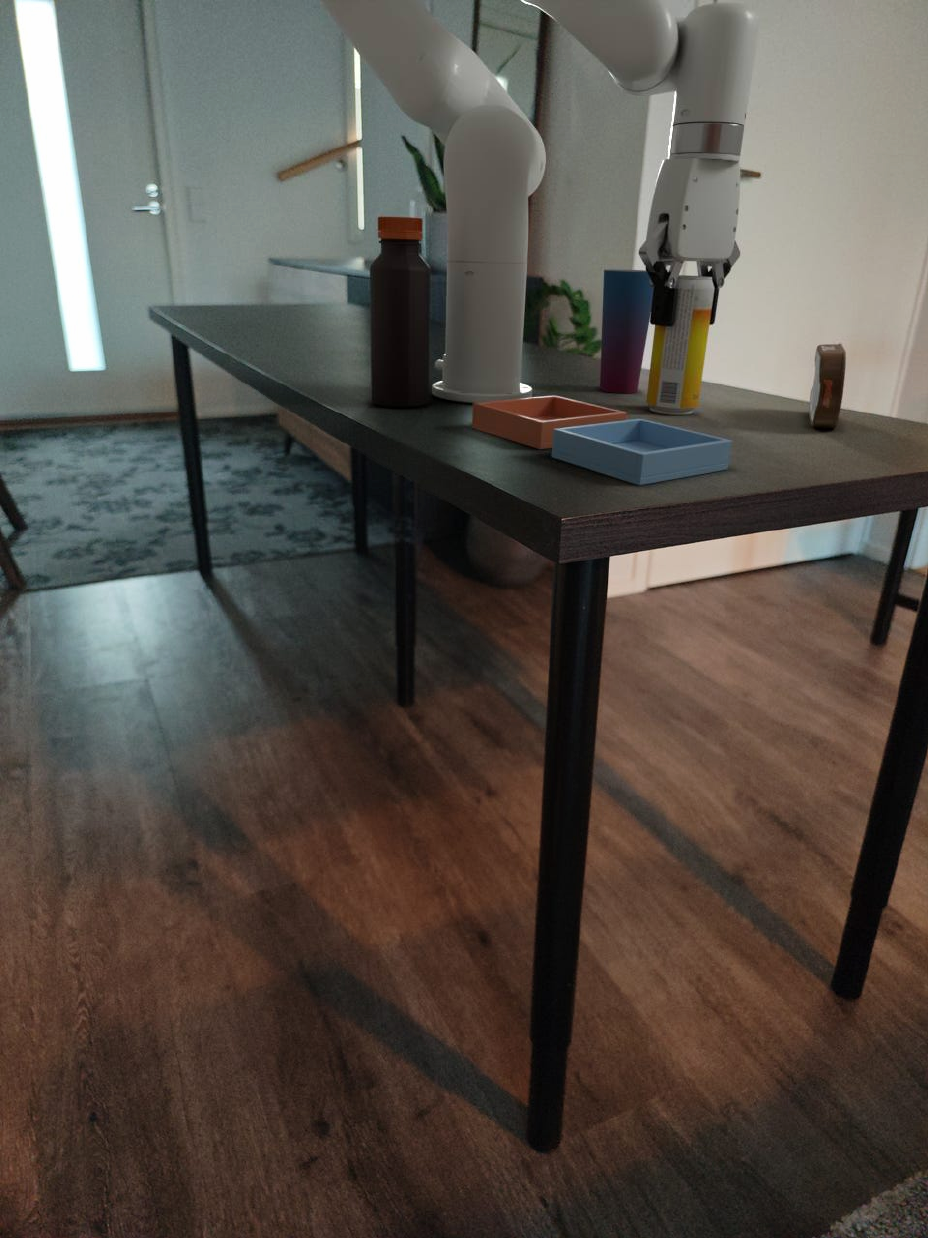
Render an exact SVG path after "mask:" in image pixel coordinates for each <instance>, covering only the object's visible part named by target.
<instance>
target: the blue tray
mask: <svg viewBox="0 0 928 1238" xmlns="http://www.w3.org/2000/svg"><path fill="white" fill-rule="evenodd" d="M732 444H733V441H732V440H731V439H726V438H723V437H719V436H714V435H711V434H706V433H702V432H698V431H694V430H690V429H685V428H681V427H677V426H673V425H669V424H665V423H661V422H657V421H654V420H653V421H652V420H648V419H644V418H633V419H626V420H623V421H615V422H607V423H599V424H591V425H582V426H574V427H566V428H558V429H554V430H553V442H552V448H551V456H550V457H551V458H553V459H556V460H560V461H563V462H566V463H569V464H572V465H575V466H578V467H581V468H584V469H587V470H590V471H594V472H595V473H599V474H603V475H606V476H608V477H611V478H615V479H619V480H620V481H625V482H627V483H631V484H634V485H637V486H644V485H648V484H649V485H650V484H655V483H659V482H660V483H661V482H666V481H672V480H677V479H683V478H689V477H694V476H699V475H704V474H705V475H706V474H709V473H715V472H716V473H717V472H721V471H727V470H729V464H730V463H729V462H730V457H731V451H732Z"/></svg>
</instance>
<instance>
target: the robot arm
mask: <svg viewBox="0 0 928 1238" xmlns="http://www.w3.org/2000/svg"><path fill="white" fill-rule="evenodd" d="M318 1H319V3H320V4H321V6H322V8H323V9H324V10H325V12H326V13H327V14H328V16H329V17H330V18H331V20H332V21H333V22H334V23H335V25H336V26H337V27H338V29H339V30H340V31H341V33H342V34H343V35H344V36H345V38H346V39H347V40H348V41H349V42H350V44H351V45H352V47H353V49H354V50H355V51H356V52H357V54H358V55H359V56H360V58H361V59H362V60H363V61H364V63H365V64H366V66H367V67H368V68H369V69H370V70H371V72H372V73H373V74H374V75H375V77H376V78H377V80H379V82H380V83H381V84H382V86H383V87H384V88H385V89H386V91H387V92H388V93H389V95H390V97H392V99H393V100H394V102H395V103H396V104H397V106H398V107H399V109H400V110H401V111H402V112H403V113H404V115H406V116H407V117H408V118H409V119H410V120H412V121H413V122H416V123H418V124H420V125H422V126H423V127H426V128H429V130H430V131H431V132H432V133H433V134H434V136H436V138H437V139H438V140H439V141H440V142H441V144H442V145H443V147H444V152H443V181H444V190H445V191H444V192H445V194H444V195H445V205H446V206H445V207H446V291H445V292H446V295H445V297H446V299H445V341H444V343H445V345H444V346H445V347H444V348H445V349H444V354H442V359H436V360H435V362H434V368H435V370H437V371H440V372H442V375H441V376H442V377H441V378H442V380H440V381H437V382H435V383H433V384H432V386H431V394H432V395H433V396H434V397H436V398H439V399H442V400H448V401H452V402H459V403H468V404H473V403H479V402H489V401H500V400H510V399H521V398H532V397H533V388H532V386H529V385H528V384H525V383H521V381H522V380H521V379H522V378H521V377H522V360H523V345H524V343H523V340H524V325H525V323H524V322H525V308H526V307H525V306H526V289H527V274H528V273H527V272H528V249H529V248H528V247H529V197H530V196H531V195H532V194H533V193H534V192H536V190H537V189H538V187H539V186H540V184H541V182H542V180H543V178H544V175H545V171H546V166H547V154H546V149H545V148H546V147H545V144H544V141H543V139H542V137H541V135H540V133H539V131H538V129H537V128H536V127H535V126H534V124H533V123H532V122H531V121H530V119H529V118H528V117H527V115H525V113H524V112H523V111H522V109H521V108H520V106H518V104H517V103H516V102H515V101H514V100H513V99H514V98H512V97H511V96H510V94H509V93H508V91H506V89H505V88H504V87H503V85H501V83H500V82H499V80H498V79H497V77H496V76H495V75H494V74H493V73H492V71H490V69H489V68H488V66H487V65H486V64H485V62H483V60H482V59H481V58H480V57H479V56H478V55H477V54H476V53H475V51H474V50H472V49H471V48H470V47H469V46H468V45H467V44H466V43H465V42H463V41H462V40H461V39H459V38H458V37H457V36H455V35H454V34H453V33H451V32H450V31H449V30H447V29H446V28H445V27H444V26H443V25H442V24H441V23H440V22H439V21H438V20H437V19H436V18H435V17H434V16H433V15H432V13H431V12H430V11H429V10H428V8H427V7H426V6H425V4H424V3H423V2H422V1H421V0H318ZM520 1H521V2H523V3H524V4H528V5H532V6H534V7H536V8H538V9H540V10H541V11H543V12H544V13H546V15H548V16H549V17H550V18H552V20H554V21H555V22H557V24H559V25H560V26H561V27H562V28H563V29H564V30H565V31H567V33H569V34H570V35H571V36H572V37H573V38H574V39H575V40H576V41H577V42H578V43H579V44H580V45H581V46H583V48H585V49H586V50H587V51H588V52H589V53H590V54H591V55H592V56H593V57H594V58H595V59H596V60H597V61H598V62H600V63H601V64H602V66H603V67H604V68H605V69H606V70H607V71H608V72H609V74H610V76H611V78H612V79H613V81H614V82H615V85H616V86H618V87H619V89H620V90H622V91H623V92H625V93H626V94H628V95H632V96H635V97H647V96H648V97H649V96H654V95H660V94H666V93H672V92H674V101H673V109H672V118H671V127H670V135H669V145H668V154H667V155H668V156H667V158H666V159H663V160H662V163H661V164H660V168H659V171H658V175H657V178H656V181H655V186H654V190H653V193H652V194H653V195H652V200H651V204H650V208H649V209H650V210H649V215H648V216H649V217H648V222H647V230H646V236H645V240H644V242H643V243H642V245H641V246H640V247H639V249H638V256H639V258H640V260H641V261H642V263H643V265H644V266H645V270H646V271H647V273H648V275H649V277H650V285H651V286H652V287H654V289H653V298H652V307H651V314H650V320H649V324H651V326H652V325H654V326H655V325H660V326H667V327H669V326H673V325H674V323H675V315H676V307H677V299H678V288H673V287H674V286H675V284H676V281H677V278H678V276H679V275H680V273H681V270H682V268H683V265H684V263H685V262H696V270H697V276H706V277H712V282H713V285H714V295H713V302H712V310H711V317H710V324H709V326H712V325H714V324H715V322H716V317H717V316H716V315H717V308H718V303H719V295H720V289H721V288H722V287H724V286H725V279H726V278H727V276H728V275H729V274H730V272H731V270H732V267H733V266H734V265H735V264H736V262H737V261H738V260H739V258H740V257H741V251H740V249H739V245H738V243H737V241H736V236H737V228H738V220H739V211H740V198H741V196H740V195H741V163H740V160H741V154H742V153H741V152H742V147H743V138H744V133H745V132H744V131H745V126H746V119H747V112H748V104H749V103H748V102H749V96H750V90H751V84H752V77H753V70H754V62H755V57H756V50H757V43H758V35H759V26H760V22H759V21H760V20H759V15H758V13H757V12H756V10H755V9H754V8H753V7H751V6H749V5H746V4H744V3H737V2H714V3H707V4H703V5H700V6H697V7H695V8H694V9H692V10H691V11H690V12H689V13H688V14H687V16H686V17H677V16H675V15H674V12H673V10H672V8H671V6H670V5H669V3H668V2H667V1H666V0H520ZM668 266H669V269H667V267H668ZM709 267H710V269H709Z"/></svg>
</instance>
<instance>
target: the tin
mask: <svg viewBox="0 0 928 1238" xmlns="http://www.w3.org/2000/svg"><path fill="white" fill-rule="evenodd" d="M846 354H847V353H846V350H845V347H844V346H843V345H842V343H841V342H839V343H838V344H837V343H836V344H835V343H834V344H829V343H828V344H826V343H825V344H819V345H817V346H816V350H815V356H814V376H813V382H812V386H811V389H810V394H809V395H810V397H809V408H808V409H809V410H808V411H809V421H810V425H811V427H813V428H818V429H819V428H820V429H833V430H836V429H837V428H838V424H839V420H840V419H839V418H840V414H841V408H842V402H843V395H844V386H845V377H846V376H845V375H846V367H847V366H846V363H847V362H846V361H847V355H846Z"/></svg>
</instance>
